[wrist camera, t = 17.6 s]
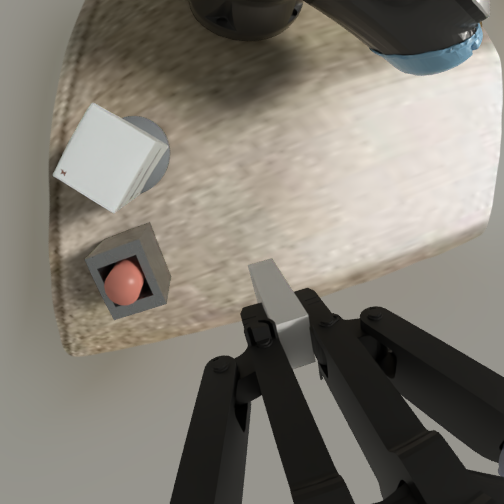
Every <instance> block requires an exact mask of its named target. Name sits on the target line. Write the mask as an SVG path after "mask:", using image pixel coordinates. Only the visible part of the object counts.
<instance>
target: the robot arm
mask: <svg viewBox="0 0 504 504" xmlns="http://www.w3.org/2000/svg"><path fill="white" fill-rule="evenodd" d="M303 1H304V2H306V3H308V4H309V5H311V6H312V7H314V8H316V9H317V10H319V11H320V12H322V13H323V14H325V15H326V16H328V17H329V18H331V19H332V20H334V21H335V22H337V23H338V24H339V25H341V26H342V27H344V28H345V29H346V30H348V31H349V32H350V33H352V34H353V35H354V36H356V37H357V38H358V39H359V40H361V41H362V42H363V43H365V44H366V45H367V46H368V47H369V49H370V50H371V51H372V52H374V53H375V54H377V55H379V56H382V57H383V58H384V59H385V60H387V61H388V62H389V63H390V64H392V65H393V66H394V67H395V68H397V69H398V70H400V71H402V72H404V73H408V74H413V75H418V76H424V75H433V74H437V73H441V72H444V71H447V70H449V69H452V68H454V67H456V66H458V65H459V64H461V63H463V62H464V61H466V60H467V59H468V58H469V57H470V56H472V50H476V49H478V48H479V46H480V44H481V42H482V36H483V34H482V30H481V26H480V22H481V21H483V20H485V19H486V18H488V17H489V16H490V0H189V3H190V8H191V10H192V12H193V14H194V16H195V17H196V19H197V20H198V21H199V22H200V23H201V24H202V25H203V26H204V27H206V28H207V29H209V30H210V31H212V32H214V33H216V34H218V35H220V36H223V37H226V38H230V39H234V40H242V41H256V40H263V39H267V38H270V37H273V36H276V35H278V34H280V33H281V32H283V31H284V30H286V29H287V28H288V27H289V26H290V25H291V24H292V23H293V22H294V20H295V19H296V18H297V17H298V15H299V13H300V11H301V8H302V5H303ZM248 268H249V271H250V275H251V279H252V283H253V287H254V291H255V294H256V298H257V302H258V304H254V305H251V306H247V307H244V308H243V309H242V311H241V318H242V322H243V326H244V333H245V337H246V340H247V343H248V347H247V349H246V350H245V352H244V353H243V354H241V355H240V356H238V357H236V358H235V359H234V358H232V357H230V356H219V357H215V358H214V359H211V360H210V361H209V362H208V363H207V365H206V366H205V369H204V373H203V376H202V380H201V384H200V388H199V392H198V395H197V399H196V403H195V407H194V410H193V414H192V418H191V422H190V426H189V430H188V434H187V438H186V441H185V445H184V449H183V453H182V457H181V461H180V465H179V469H178V473H177V477H176V480H175V484H174V489H173V493H172V497H171V501H170V504H242V495H243V485H244V475H245V464H246V455H247V444H248V434H249V423H250V412H251V401H252V400H254V399H256V398H258V397H259V396H261V395H262V396H263V400H264V403H265V407H266V411H267V414H268V417H269V421H270V424H271V428H272V431H273V435H274V438H275V441H276V444H277V448H278V451H279V454H280V458H281V461H282V464H283V467H284V471H285V474H286V477H287V481H288V484H289V487H290V491H291V495H292V499H293V502H294V504H355V503H354V501H353V499H352V496H351V494H350V492H349V490H348V488H347V486H346V483H345V482H344V479H343V478H342V477H341V476H340V475H339V474H338V472H337V470H336V468H335V466H334V464H333V461H332V459H331V457H330V455H329V452H328V450H327V448H326V445H325V443H324V441H323V439H322V436H321V434H320V432H319V430H318V427H317V425H316V423H315V420H314V418H313V416H312V414H311V411H310V409H309V407H308V405H307V402H306V400H305V398H304V395H303V393H302V391H301V388H300V386H299V384H298V381H297V379H296V377H295V374H294V372H293V370H292V369H295V368H298V367H301V366H304V365H307V364H310V363H313V362H315V356H316V358H317V360H318V366H319V374H320V379H321V380H322V379H323V377H324V379H325V381H326V383H327V385H328V387H329V389H330V391H331V392H332V394H333V396H334V398H335V400H336V402H337V404H338V406H339V407H340V409H341V411H342V413H343V415H344V417H345V419H346V421H347V422H348V425H349V427H350V429H351V430H352V432H353V434H354V436H355V438H356V440H357V442H358V444H359V445H360V447H361V450H362V451H363V453H364V455H365V457H366V459H367V461H368V463H369V465H370V467H371V468H372V471H373V472H374V474H375V476H376V478H377V480H378V482H379V485H380V491H381V494H382V497H383V501H381V502H378V503H373V504H504V377H502V376H501V375H499V374H497V373H496V372H494V371H492V370H491V369H489V368H487V367H486V366H484V365H482V364H480V363H478V362H477V361H475V360H474V359H472V358H470V357H468V356H466V355H465V354H463V353H462V352H460V351H458V350H457V349H455V348H453V347H451V346H450V345H448V344H446V343H445V342H443V341H441V340H439V339H438V338H436V337H434V336H432V335H431V334H429V333H427V332H425V331H424V330H422V329H420V328H419V327H417V326H415V325H413V324H411V323H410V322H408V321H406V320H405V319H403V318H401V317H399V316H397V315H396V314H394V313H392V312H390V311H389V310H387V309H385V308H382V307H369V308H367V309H365V310H363V311H362V312H361V314H360V318H359V319H352V320H343V319H342V318H341V317H340V316H339V315H337V314H334V313H331V312H330V310H329V309H328V308H327V306H326V305H325V304H324V303H323V301H322V300H321V299H320V297H319V296H318V295H317V293H316V292H315V291H314V290H311V289H309V288H305V289H302V290H299V291H295V292H293V290H292V289H291V287H290V285H289V284H288V282H287V281H286V279H285V278H284V276H283V275H282V273H281V271H280V270H279V268H278V267H277V265H276V264H275V262H274V261H273V259H272V258H271V259H268V260H264V261H261V262H257V263H254V264H250V265H248ZM314 354H315V356H314ZM322 375H323V377H322ZM400 394H401V395H402V396H403V397H405V398H406V399H407V400H408V401H410V402H411V403H412V404H414V405H415V406H416V407H417V408H419V409H420V410H421V411H423V412H424V413H425V414H427V415H428V416H429V417H430V418H432V419H433V420H434V421H435V422H437V423H438V424H439V425H441V426H442V427H443V428H445V429H446V430H447V431H448V432H450V433H451V434H452V435H454V436H455V437H456V438H458V439H459V440H460V441H462V442H463V443H464V444H466V445H467V446H468V447H470V448H471V449H472V450H474V451H475V452H477V453H478V454H480V455H481V456H483V457H485V458H487V459H489V460H491V461H494V462H497V463H499V469H498V473H499V475H500V476H496V475H491V474H486V473H481V472H476V471H472V470H468V469H466V468H465V467H464V465H463V464H462V462H461V461H460V460H459V458H458V457H457V456H456V454H455V453H454V451H453V450H452V449H451V447H450V446H449V445H448V443H447V442H446V441H445V439H444V438H443V437H442V435H441V434H439V432H436V431H435V430H433V431H428V430H427V429H426V428H425V427H424V426H423V424H422V423H421V422H420V420H419V419H418V418H417V416H416V415H415V414H414V412H413V411H412V409H411V408H410V407H409V405H408V404H407V403H406V402H405V400H404V399H403V397H402V396H401V395H400Z"/></svg>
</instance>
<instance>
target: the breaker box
mask: <svg viewBox="0 0 504 504" xmlns="http://www.w3.org/2000/svg"><path fill="white" fill-rule="evenodd" d="M134 255H136V256H137V258H138V261H139V263H140V266H141V268H142V270H143V273H144V275H145V280H144V283H143V285H142V288H141V291H140V294H139V297H138V299H137V300H136V301H135V302H134V303H132V304H130V305H119V304H116V303H114V302H113V301H111V300H110V299H109V298H108V296H107V294H106V292H105V288H104V284H105V280H106V278H107V277H108V275H109V273H110V272H111V270H112V269H113V267H114V266H115V264H116V263H117V261H120V260H123V259H126V258H129V257H131V256H134ZM85 262H86V264H87V266H88V268H89V270H90V273H91V275H92V277H93V279H94V281H95V283H96V285H97V288H98V290H99V292H100V294H101V296H102V298H103V300H104V302H105V304H106V306H107V308H108V309H109V311H110V313H111V315H112V317H113V319H114V320H116V319H119V318H122V317H126V316H129V315H132V314H135V313H139V312H142V311H145V310H148V309H152V308H155V307H158V306H161V305H164V304H167V298H168V292H169V286H170V280H171V275H170V272H169V270H168V267H167V265H166V262H165V260H164V257H163V255H162V252H161V250H160V247H159V245H158V242H157V239H156V237H155V234H154V231H153V229H152V226H151V223H150V222H149V223H146V224H144V225H141V226H138V227H135V228H133V229H130V230H127V231H125V232H122V233H119V234H117V235H114V236H112V237H109V238H106V239H104V240H103V241H102V242H101V243H100V244H99V245H98V246H97V247H96V248H95V249H94V250H93V251H92V252H91V253H90V254H89V255H88V256H87V258H86V259H85Z"/></svg>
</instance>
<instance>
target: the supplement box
mask: <svg viewBox="0 0 504 504" xmlns="http://www.w3.org/2000/svg"><path fill="white" fill-rule="evenodd" d="M168 147H169V146H168V145H166V144H165V143H163V142H162V141H160V140H158V139H157V138H155V137H153V136H152V135H150V134H148V133H147V132H145V131H143V130H142V129H140V128H138V127H137V126H135V125H133V124H131V123H129V122H128V121H126V120H124V119H122V118H121V117H119V116H117V115H115V114H113V113H111V112H109V111H107V110H106V109H104V108H102V107H100V106H99V105H97V104H95V103H92V104H91V105H90V106H89V108H88V109H87V111H86V112H85V114H84V116H83V118H82V119H81V121H80V123H79V125H78V126H77V128H76V130H75V132H74V134H73V135H72V137H71V139H70V141H69V142H68V145H67V147H66V149H65V151H64V153H63V155H62V157H61V159H60V161H59V163H58V165H57V167H56V169H55V171H54V173H53V177H55V178H57V179H58V180H60V181H62V182H63V183H65V184H66V185H68V186H70V187H71V188H73V189H75V190H76V191H78V192H80V193H81V194H83V195H84V196H86V197H88V198H89V199H91V200H92V201H94V202H96V203H97V204H99V205H100V206H102V207H104V208H105V209H107V210H109V211H110V212H112V213H115V212H117V211H118V210H119V209H121V208H122V207H123V206H125V205H126V204H127V203H129V202H130V201H132V200H133V199H135V198H136V197H137V196H139V195H140V193H141V191H142V189H143V187H144V185H145V183H146V181H147V180H148V178H149V176H150V175H151V173H152V172H153V170H154V168H155V167H156V165H157V164H158V162H159V160H160V159H161V157H162V156H163V154H164V153H165V152H166V150H167V149H168Z"/></svg>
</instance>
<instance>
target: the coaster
mask: <svg viewBox="0 0 504 504" xmlns="http://www.w3.org/2000/svg"><path fill="white" fill-rule="evenodd" d="M122 119H124V120H126V121H128V122H129V123H131V124H133V125H135V126H137V127H138V128H140V129H142V130H143V131H145V132H147V133H148V134H150V135H152V136H153V137H155V138H157V139H158V140H160V141H162V142H163V143H165V144H166V145H168V146H169V142H168V139H167V137H166V135H165V133H164V132H163V130H162V129H161V128H160V127H159V126H158V125H157V124H155V123H154V122H153V121H151V120H149V119H147V118H144V117H139V116H128V117H124V118H122ZM169 160H170V146H169V147H168V149H167V150H166V152H165V153H164V154H163V156H162V157H161V159H160V160H159V162H158V164H157V165H156V167H155V168H154V170H153V172H152V173H151V175H150V176H149V178H148V180H147V181H146V183H145V185H144V187H143V189H142V191H141V193H143V192H145V191H147V190H149V189H151V188H152V187H153V186H155V185H156V184H157V183H158V182H159V181H160V180H161V178H162V177H163V176H164V174H165V172H166V170H167V168H168V164H169Z"/></svg>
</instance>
